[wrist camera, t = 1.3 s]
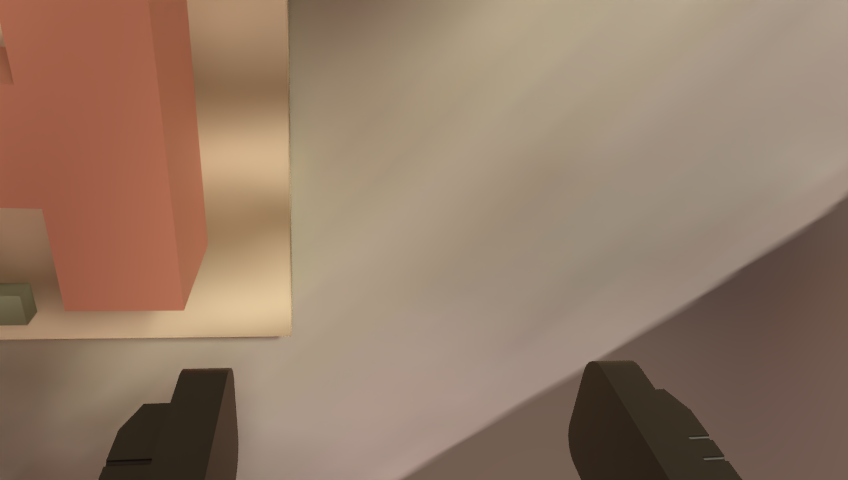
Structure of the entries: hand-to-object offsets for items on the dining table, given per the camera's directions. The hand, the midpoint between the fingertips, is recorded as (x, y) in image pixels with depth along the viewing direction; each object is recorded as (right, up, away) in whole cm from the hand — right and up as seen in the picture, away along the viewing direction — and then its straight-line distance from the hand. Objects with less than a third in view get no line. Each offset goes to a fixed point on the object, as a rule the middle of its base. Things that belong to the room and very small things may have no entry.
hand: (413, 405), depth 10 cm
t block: (-14, +8, +12) cm, 20 cm away
